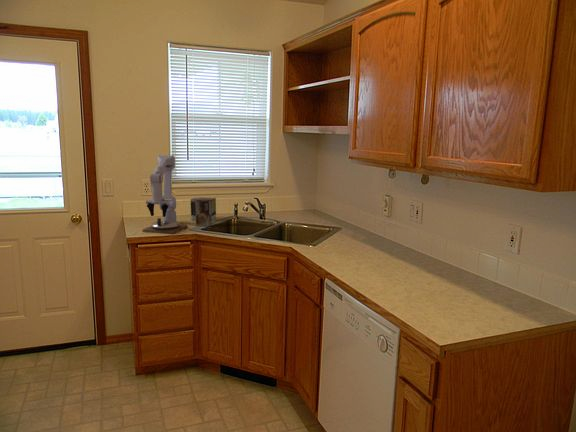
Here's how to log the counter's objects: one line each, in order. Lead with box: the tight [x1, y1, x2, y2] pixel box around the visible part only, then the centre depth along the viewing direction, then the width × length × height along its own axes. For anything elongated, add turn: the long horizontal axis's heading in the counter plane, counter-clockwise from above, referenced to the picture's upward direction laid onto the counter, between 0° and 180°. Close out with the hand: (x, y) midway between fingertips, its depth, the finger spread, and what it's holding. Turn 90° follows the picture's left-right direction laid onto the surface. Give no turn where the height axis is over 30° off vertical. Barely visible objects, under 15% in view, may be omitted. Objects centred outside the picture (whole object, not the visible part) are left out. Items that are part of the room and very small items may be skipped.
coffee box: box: [195, 200, 213, 227], centre depth 290 cm, size 9×6×16 cm
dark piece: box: [190, 196, 217, 222], centre depth 309 cm, size 15×10×15 cm, turn 82°
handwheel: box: [150, 217, 181, 229], centre depth 276 cm, size 17×17×6 cm
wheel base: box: [142, 224, 188, 235], centre depth 277 cm, size 19×20×2 cm
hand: (158, 216), depth 270 cm, fingers open, 7 cm apart
